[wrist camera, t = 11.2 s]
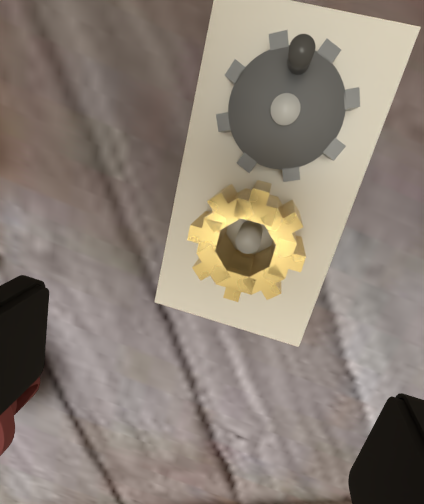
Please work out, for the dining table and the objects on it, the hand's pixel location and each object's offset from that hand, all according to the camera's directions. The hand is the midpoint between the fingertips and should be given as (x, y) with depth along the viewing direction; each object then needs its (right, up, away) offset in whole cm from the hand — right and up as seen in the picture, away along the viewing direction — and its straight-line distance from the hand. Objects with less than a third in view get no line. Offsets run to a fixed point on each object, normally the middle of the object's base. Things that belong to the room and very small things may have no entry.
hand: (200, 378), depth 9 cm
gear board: (+4, +8, +16) cm, 18 cm away
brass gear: (+3, +5, +16) cm, 17 cm away
